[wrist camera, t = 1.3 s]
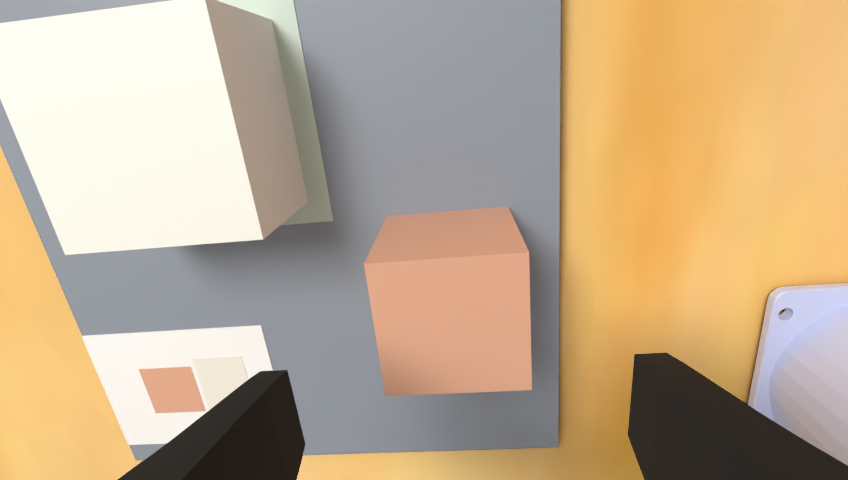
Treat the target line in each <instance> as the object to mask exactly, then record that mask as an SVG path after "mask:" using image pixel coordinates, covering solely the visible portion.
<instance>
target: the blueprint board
mask: <svg viewBox="0 0 848 480" xmlns="http://www.w3.org/2000/svg"><path fill="white" fill-rule="evenodd" d="M162 1H170V0H0V23H5V22H13V21H20V20H28V19H35V18H43V17H50V16H58V15H65V14H73V13H80V12H87V11H95V10H102V9H110V8H117V7H125V6H132V5H140V4H147V3H155V2H162ZM217 1H220V2H223V3H226V4H228V5H231V6H234V7H237V8H240V9H243V10H246V11H248V12H251V13H254V14H257V15H260V16H263V17H266V18H269V19H271V20H272V23H273V28H274V33H275V38H276V43H277V48H278V53H279V58H280V63H281V68H282V73H283V78H284V83H285V88H286V93H287V98H288V103H289V108H290V113H291V118H292V123H293V128H294V133H295V138H296V143H297V148H298V153H299V158H300V163H301V168H302V173H303V178H304V183H305V188H306V193H307V198H308V203H306V204H305V205H304V206H303V207H302V208H300V209H299V210H298V211H297V212H296V213H294V214H293V215H292V216H291V217H290V218H288V219H287V220H286V221H285V222H284V223H282V224H281V225H280V226H279V227H278V228H276V229H275V230H274V231H273V232H272V233H270V234H269V235H268V236H267V237H266V238H264V239H263V240H251V241H238V242H225V243H212V244H200V245H187V246H174V247H161V248H149V249H136V250H123V251H110V252H98V253H85V254H72V255H65V254H64V251H63V249H62V246H61V244H60V242H59V239H58V237H57V234H56V232H55V230H54V227H53V225H52V222H51V220H50V217H49V215H48V213H47V210H46V208H45V205H44V203H43V201H42V198H41V196H40V193H39V191H38V189H37V186H36V184H35V181H34V179H33V177H32V174H31V172H30V169H29V167H28V164H27V162H26V160H25V157H24V155H23V152H22V150H21V148H20V145H19V143H18V140H17V138H16V136H15V133H14V131H13V128H12V126H11V124H10V121H9V119H8V116H7V114H6V111H5V109H4V107H3V104H2V102H1V99H0V146H1V148H2V150H3V153H4V155H5V157H6V160H7V162H8V164H9V167H10V169H11V171H12V173H13V176H14V178H15V180H16V183H17V185H18V187H19V190H20V192H21V194H22V197H23V199H24V201H25V204H26V206H27V208H28V211H29V213H30V215H31V218H32V220H33V222H34V225H35V227H36V229H37V232H38V234H39V236H40V239H41V241H42V243H43V246H44V248H45V250H46V253H47V255H48V257H49V260H50V262H51V264H52V267H53V269H54V271H55V273H56V276H57V278H58V280H59V283H60V285H61V287H62V290H63V292H64V294H65V297H66V299H67V301H68V304H69V306H70V308H71V311H72V313H73V315H74V318H75V320H76V322H77V325H78V327H79V329H80V332H81V334H82V339H83V341H84V343H85V346H86V348H87V350H88V352H89V355H90V357H91V359H92V362H93V364H94V366H95V369H96V371H97V373H98V376H99V378H100V380H101V383H102V385H103V387H104V390H105V392H106V394H107V397H108V399H109V401H110V404H111V406H112V408H113V410H114V413H115V415H116V417H117V420H118V422H119V424H120V427H121V429H122V431H123V434H124V436H125V438H126V441H127V443H128V445H129V446H130V448H131V450H132V453H133V455H134V457H135V460H145V459H147V458H148V457H149V456H151V455H152V454H153V453H155V452H156V451H157V450H159V449H160V448H161V447H163V446H164V445H165V444H167V443H168V442H169V441H171V440H172V439H173V438H175V437H176V436H177V435H178V434H180V433H181V432H182V431H184V430H185V429H186V428H187V427H189V426H190V425H191V424H192V423H194V422H195V421H196V420H198V419H199V418H200V417H201V416H203V415H204V414H205V413H206V412H208V411H209V410H210V409H211V408H213V407H214V406H215V405H216V404H218V403H219V402H220V401H222V400H223V399H224V398H225V397H227V396H228V395H229V394H230V393H232V392H233V391H234V390H235V389H237V388H238V387H239V386H241V385H242V384H243V383H244V382H246V381H247V380H248V379H250V378H251V377H253V376H254V375H256V374H257V373H258V372H260V371H275V370H288V375H289V379H290V383H291V387H292V391H293V395H294V399H295V403H296V407H297V411H298V416H299V420H300V424H301V428H302V432H303V436H304V440H305V448H304V452H303V455H326V454H358V453H391V452H423V451H456V450H488V449H521V448H553V447H558V420H559V232H560V44H561V0H217ZM496 207H509V209H510V212H511V214H512V216H513V218H514V220H515V222H516V225H517V227H518V229H519V231H520V233H521V236H522V238H523V240H524V242H525V244H526V246H527V249H528V251H529V269H530V318H531V368H532V390H522V391H498V392H475V393H452V394H428V395H405V396H385V391H384V385H383V379H382V372H381V366H380V360H379V354H378V348H377V342H376V336H375V329H374V323H373V317H372V311H371V305H370V299H369V292H368V286H367V280H366V274H365V268H364V263H365V261H366V259H367V257H368V254H369V252H370V250H371V248H372V246H373V244H374V242H375V240H376V238H377V236H378V234H379V232H380V229H381V227H382V225H383V223H384V221H385V219H386V217H387V216H398V215H410V214H422V213H435V212H447V211H459V210H471V209H484V208H496Z"/></svg>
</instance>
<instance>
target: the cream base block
mask: <svg viewBox="0 0 848 480" xmlns="http://www.w3.org/2000/svg"><path fill="white" fill-rule="evenodd" d="M0 99H1V102H2V104H3V107H4V109H5V111H6V114H7V116H8V119H9V121H10V124H11V126H12V128H13V131H14V133H15V136H16V138H17V140H18V143H19V145H20V148H21V150H22V152H23V155H24V157H25V160H26V162H27V164H28V167H29V169H30V172H31V174H32V177H33V179H34V181H35V184H36V186H37V189H38V191H39V193H40V196H41V198H42V201H43V203H44V205H45V208H46V210H47V213H48V215H49V217H50V220H51V222H52V225H53V227H54V230H55V232H56V234H57V237H58V239H59V242H60V244H61V246H62V249H63V251H64V254H65V255H72V254H85V253H98V252H110V251H123V250H136V249H149V248H161V247H174V246H187V245H200V244H212V243H225V242H238V241H251V240H263V239H264V238H266V237H267V236H268V235H269V234H270V233H272V232H273V231H274V230H275V229H276V228H278V227H279V226H280V225H281V224H282V223H284V222H285V221H286V220H287V219H288V218H290V217H291V216H292V215H293V214H294V213H296V212H297V211H298V210H299V209H300V208H302V207H303V206H304V205H305V204H306V203H308V198H307V193H306V188H305V183H304V178H303V173H302V168H301V163H300V158H299V153H298V148H297V143H296V138H295V133H294V128H293V123H292V118H291V113H290V108H289V103H288V98H287V93H286V88H285V83H284V78H283V73H282V68H281V63H280V58H279V53H278V48H277V43H276V38H275V33H274V28H273V23H272V20H271V19H269V18H266V17H263V16H260V15H257V14H254V13H251V12H248V11H246V10H243V9H240V8H237V7H234V6H231V5H228V4H226V3H223V2H220V1H217V0H170V1H162V2H155V3H147V4H140V5H132V6H125V7H117V8H110V9H102V10H95V11H87V12H80V13H73V14H65V15H58V16H50V17H43V18H35V19H28V20H20V21H13V22H5V23H0Z"/></svg>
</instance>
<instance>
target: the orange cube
mask: <svg viewBox="0 0 848 480" xmlns="http://www.w3.org/2000/svg"><path fill="white" fill-rule="evenodd" d="M364 268H365V274H366V280H367V286H368V292H369V299H370V305H371V311H372V317H373V323H374V329H375V336H376V342H377V348H378V354H379V360H380V366H381V372H382V379H383V385H384V391H385V396H405V395H428V394H452V393H475V392H498V391H522V390H532V368H531V318H530V269H529V251H528V249H527V246H526V244H525V242H524V240H523V238H522V236H521V233H520V231H519V229H518V227H517V225H516V222H515V220H514V218H513V216H512V214H511V212H510V209H509V207H496V208H484V209H471V210H459V211H447V212H435V213H422V214H410V215H398V216H387V217H386V219H385V221H384V223H383V225H382V227H381V229H380V232H379V234H378V236H377V238H376V240H375V242H374V244H373V246H372V248H371V250H370V252H369V254H368V257H367V259H366V261H365V263H364Z"/></svg>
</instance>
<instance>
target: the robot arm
mask: <svg viewBox="0 0 848 480" xmlns="http://www.w3.org/2000/svg"><path fill="white" fill-rule="evenodd" d="M785 308H786V309H785ZM783 309H785V311H784V312H783V313H782V314H780V315H778V314H779V312H780V311H781V310H783ZM628 436H629V439H630V442H631V444H632V447H633V450H634V453H635V455H636V458H637V461H638V463H639V466H640V469H641V471H642V474H643V476H644V479H645V480H848V283H834V284H818V285H802V286H785V287H780V288H777V289H775V290H774V291H773V292H772V293H771V294H770V295H769V297H768V300H767V305H766V311H765V316H764V321H763V327H762V332H761V337H760V342H759V348H758V353H757V358H756V363H755V369H754V374H753V379H752V385H751V390H750V395H749V400H748V405H747V404H746V403H744V402H743V401H741V400H740V399H738V398H737V397H735V396H733V395H732V394H730V393H729V392H727V391H726V390H724V389H723V388H721V387H720V386H718V385H717V384H715V383H714V382H712V381H710V380H709V379H707V378H706V377H704V376H703V375H701V374H700V373H698V372H697V371H695V370H694V369H692V368H691V367H689V366H687V365H686V364H684V363H683V362H681V361H679V360H678V359H676V358H674V357H673V356H671V355H669V354H668V353H653V354H635V357H634V369H633V381H632V393H631V405H630V417H629V429H628ZM304 448H305V440H304V436H303V432H302V428H301V424H300V420H299V416H298V411H297V407H296V403H295V399H294V395H293V391H292V387H291V383H290V379H289V375H288V370H275V371H260V372H258V373H257V374H256V375H254V376H253V377H251V378H250V379H248V380H247V381H246V382H244V383H243V384H242V385H241V386H239V387H238V388H237V389H235V390H234V391H233V392H232V393H230V394H229V395H228V396H227V397H225V398H224V399H223V400H222V401H220V402H219V403H218V404H216V405H215V406H214V407H213V408H211V409H210V410H209V411H208V412H206V413H205V414H204V415H203V416H201V417H200V418H199V419H198V420H196V421H195V422H194V423H192V424H191V425H190V426H189V427H187V428H186V429H185V430H184V431H182V432H181V433H180V434H178V435H177V436H176V437H175V438H173V439H172V440H171V441H169V442H168V443H167V444H165V445H164V446H163V447H161V448H160V449H159V450H157V451H156V452H155V453H153V454H152V455H151V456H149V457H148V458H147V459H145V460H144V461H142V462H141V463H140V464H138V465H137V466H136V467H134V468H133V469H132V470H130V471H129V472H128V473H126V474H125V475H123V476H122V477H121V478H119V479H118V480H296V479H297V475H298V472H299V468H300V464H301V460H302V456H303V452H304Z"/></svg>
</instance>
